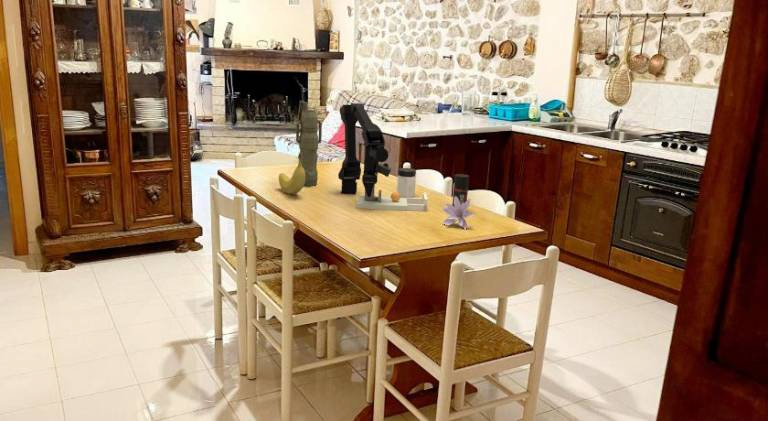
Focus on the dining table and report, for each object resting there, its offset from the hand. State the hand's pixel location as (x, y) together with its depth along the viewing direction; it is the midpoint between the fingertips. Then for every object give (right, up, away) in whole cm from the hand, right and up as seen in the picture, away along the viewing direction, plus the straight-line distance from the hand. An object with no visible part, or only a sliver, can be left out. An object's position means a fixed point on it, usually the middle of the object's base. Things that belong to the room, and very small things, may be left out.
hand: (369, 194), depth 260 cm
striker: (+1, -2, +1) cm, 3 cm away
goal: (+20, -5, +1) cm, 20 cm away
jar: (+16, 0, +20) cm, 26 cm away
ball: (+11, -1, 0) cm, 11 cm away
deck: (+5, -5, +1) cm, 7 cm away
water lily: (+34, -13, -23) cm, 43 cm away
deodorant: (+38, -7, -1) cm, 38 cm away
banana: (-35, 0, +12) cm, 37 cm away
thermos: (-30, +5, +31) cm, 43 cm away
